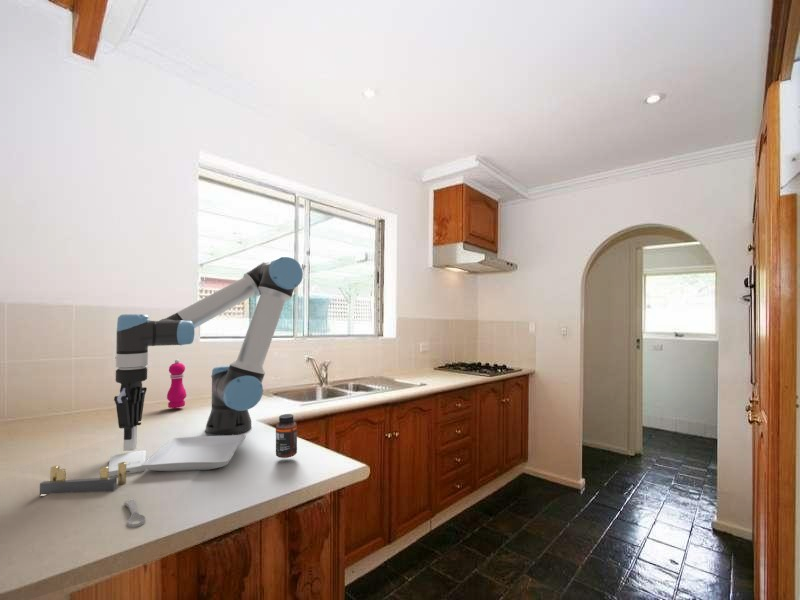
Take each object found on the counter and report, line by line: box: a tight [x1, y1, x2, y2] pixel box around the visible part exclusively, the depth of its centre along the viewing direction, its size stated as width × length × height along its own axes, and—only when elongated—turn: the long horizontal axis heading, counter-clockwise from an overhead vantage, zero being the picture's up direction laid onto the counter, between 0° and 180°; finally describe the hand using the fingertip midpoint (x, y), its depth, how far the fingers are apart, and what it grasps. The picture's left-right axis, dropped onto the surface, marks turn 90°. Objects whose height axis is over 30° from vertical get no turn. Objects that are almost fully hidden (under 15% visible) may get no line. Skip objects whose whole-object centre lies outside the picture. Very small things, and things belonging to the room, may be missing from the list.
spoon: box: [124, 498, 146, 529], centre depth 79 cm, size 3×12×2 cm, turn 41°
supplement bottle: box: [275, 413, 298, 459], centre depth 112 cm, size 6×6×11 cm
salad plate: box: [142, 434, 247, 472], centre depth 109 cm, size 21×21×3 cm
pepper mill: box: [166, 358, 187, 409], centre depth 165 cm, size 7×7×20 cm
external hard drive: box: [108, 449, 147, 477], centre depth 104 cm, size 2×8×12 cm
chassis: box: [39, 462, 127, 496], centre depth 90 cm, size 16×5×5 cm, turn 99°
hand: (129, 449), depth 111 cm, fingers closed
